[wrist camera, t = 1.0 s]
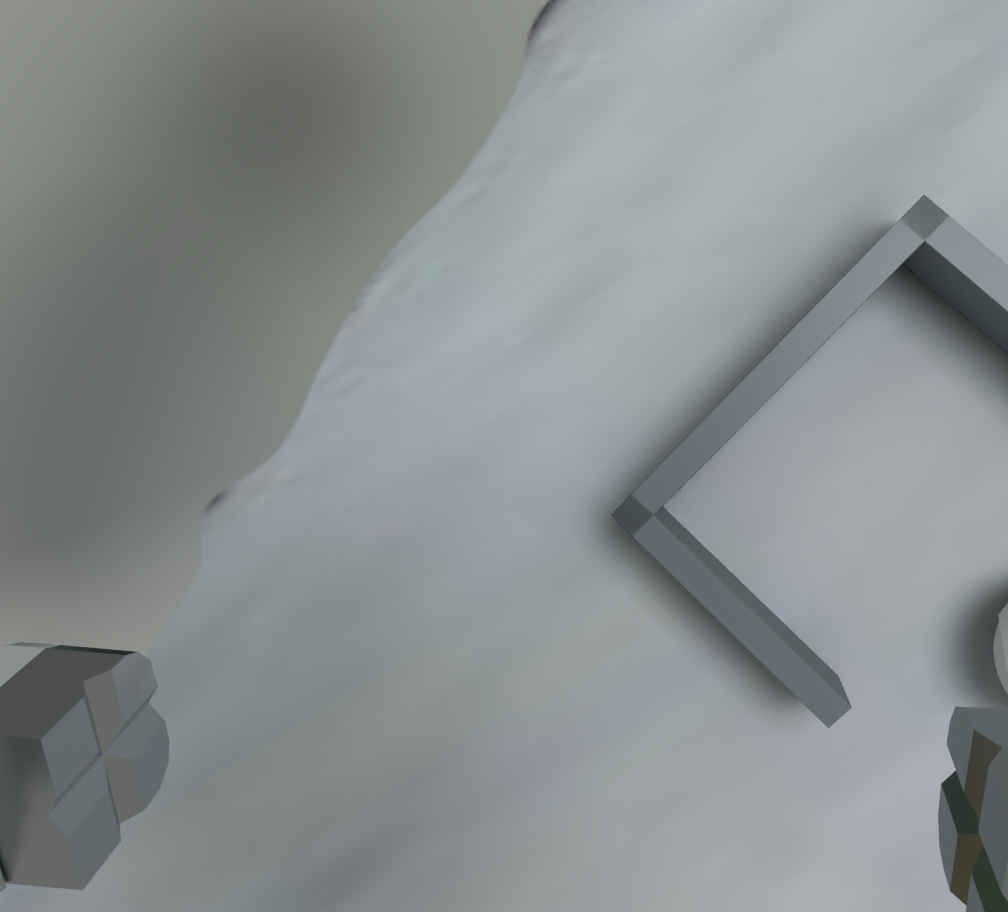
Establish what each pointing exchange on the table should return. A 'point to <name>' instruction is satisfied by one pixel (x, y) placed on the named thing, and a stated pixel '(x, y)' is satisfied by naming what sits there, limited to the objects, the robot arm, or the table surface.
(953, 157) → the table surface
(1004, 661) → the white swirled ball
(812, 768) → the table surface
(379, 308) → the table surface
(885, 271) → the box
